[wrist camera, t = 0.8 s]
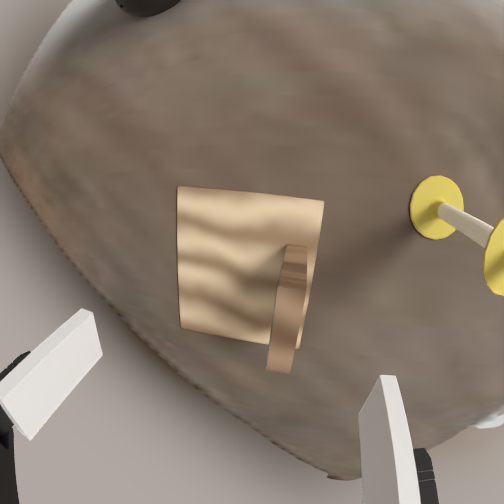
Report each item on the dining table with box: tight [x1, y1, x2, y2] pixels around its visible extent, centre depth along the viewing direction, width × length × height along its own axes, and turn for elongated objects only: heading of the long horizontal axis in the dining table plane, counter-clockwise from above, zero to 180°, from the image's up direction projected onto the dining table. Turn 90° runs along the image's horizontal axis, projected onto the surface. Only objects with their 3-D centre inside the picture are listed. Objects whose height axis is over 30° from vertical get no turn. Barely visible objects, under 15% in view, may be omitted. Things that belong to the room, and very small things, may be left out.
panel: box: [266, 244, 308, 373], centre depth 38 cm, size 12×3×14 cm, turn 176°
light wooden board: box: [177, 186, 324, 349], centre depth 46 cm, size 26×22×1 cm
